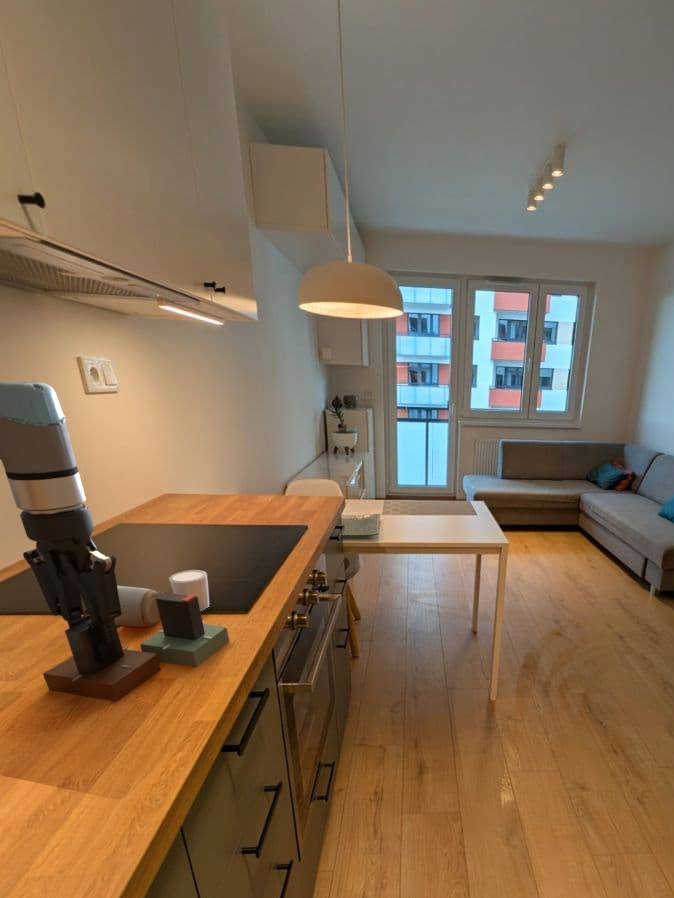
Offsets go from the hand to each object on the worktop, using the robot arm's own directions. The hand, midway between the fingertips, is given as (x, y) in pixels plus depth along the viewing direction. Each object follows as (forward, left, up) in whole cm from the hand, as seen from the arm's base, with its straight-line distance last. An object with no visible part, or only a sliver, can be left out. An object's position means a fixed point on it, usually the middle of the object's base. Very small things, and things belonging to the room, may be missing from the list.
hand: (100, 657), depth 78 cm
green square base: (+6, +11, -4) cm, 13 cm away
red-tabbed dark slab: (0, 0, -1) cm, 1 cm away
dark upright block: (+6, +11, -1) cm, 13 cm away
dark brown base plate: (0, 0, -4) cm, 4 cm away
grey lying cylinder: (-10, +18, -4) cm, 21 cm away
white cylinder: (-4, +26, -4) cm, 27 cm away
